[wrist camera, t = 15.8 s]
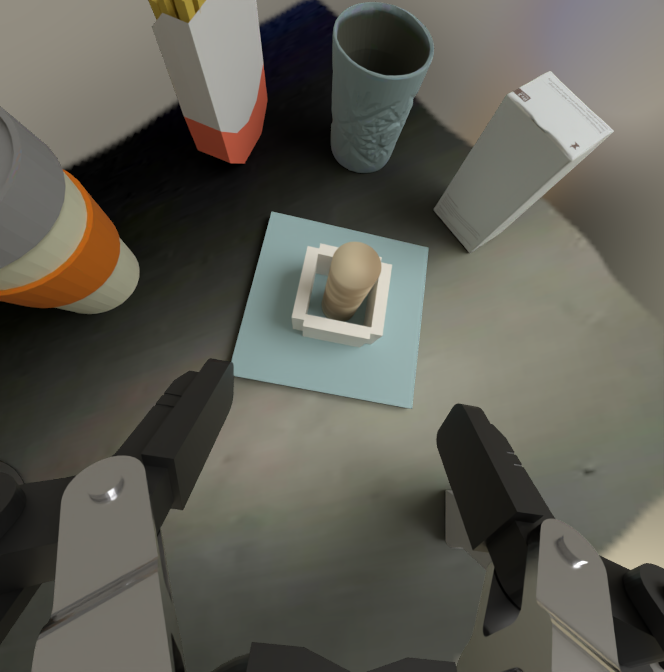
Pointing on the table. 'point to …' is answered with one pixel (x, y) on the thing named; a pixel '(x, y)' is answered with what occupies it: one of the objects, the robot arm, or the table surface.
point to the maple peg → (350, 280)
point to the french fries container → (215, 71)
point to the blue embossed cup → (374, 81)
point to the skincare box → (519, 159)
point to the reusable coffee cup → (55, 233)
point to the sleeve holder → (326, 334)
